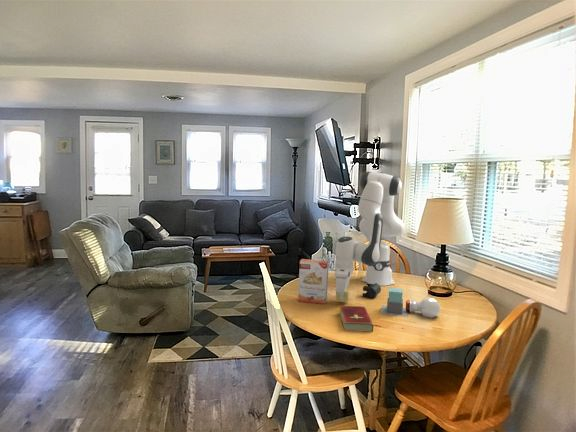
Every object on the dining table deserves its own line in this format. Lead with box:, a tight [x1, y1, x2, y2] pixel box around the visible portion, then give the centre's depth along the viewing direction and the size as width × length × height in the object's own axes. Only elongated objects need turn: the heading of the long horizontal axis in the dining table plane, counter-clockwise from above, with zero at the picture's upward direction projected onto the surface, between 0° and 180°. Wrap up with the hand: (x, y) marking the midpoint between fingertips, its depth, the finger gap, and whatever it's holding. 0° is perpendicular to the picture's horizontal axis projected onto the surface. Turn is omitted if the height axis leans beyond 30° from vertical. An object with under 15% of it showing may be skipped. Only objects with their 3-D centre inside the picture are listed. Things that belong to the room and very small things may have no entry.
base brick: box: [386, 297, 404, 314], centre depth 193 cm, size 7×7×5 cm
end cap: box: [362, 283, 382, 300], centre depth 215 cm, size 10×7×7 cm
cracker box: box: [297, 258, 330, 305], centre depth 205 cm, size 14×6×21 cm, turn 78°
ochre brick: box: [335, 288, 351, 303], centre depth 204 cm, size 6×6×5 cm
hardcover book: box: [339, 305, 374, 332], centre depth 180 cm, size 12×21×4 cm, turn 178°
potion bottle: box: [405, 296, 441, 319], centre depth 189 cm, size 9×10×15 cm
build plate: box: [380, 305, 409, 318], centre depth 193 cm, size 12×12×1 cm
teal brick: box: [387, 287, 403, 303], centre depth 192 cm, size 6×6×5 cm
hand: (342, 296), depth 205 cm, fingers closed on ochre brick, 6 cm apart
